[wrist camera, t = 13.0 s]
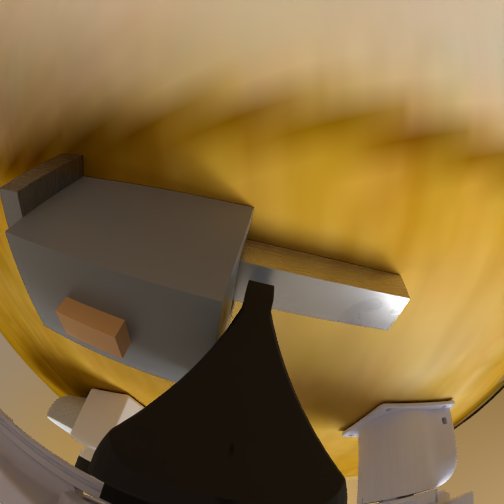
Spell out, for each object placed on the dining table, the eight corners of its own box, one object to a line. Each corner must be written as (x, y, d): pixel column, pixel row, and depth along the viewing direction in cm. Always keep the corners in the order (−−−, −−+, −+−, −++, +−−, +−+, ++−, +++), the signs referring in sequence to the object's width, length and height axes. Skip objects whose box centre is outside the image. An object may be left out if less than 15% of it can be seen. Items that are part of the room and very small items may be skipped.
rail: (425, 228, 9) (468, 294, 6) (360, 338, 13) (368, 403, 10) (61, 154, 10) (-1, 188, 6) (80, 268, 14) (42, 314, 10)
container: (129, 416, 30) (101, 489, 19) (91, 386, 26) (54, 467, 15) (169, 423, 27) (142, 510, 17) (128, 393, 24) (89, 493, 13)
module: (253, 207, 10) (214, 324, 5) (235, 300, 13) (205, 408, 8) (83, 176, 10) (-8, 242, 6) (96, 261, 13) (36, 336, 8)
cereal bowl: (138, 434, 38) (127, 465, 32) (60, 386, 33) (44, 417, 27) (183, 433, 29) (169, 476, 24) (73, 368, 24) (48, 413, 19)
